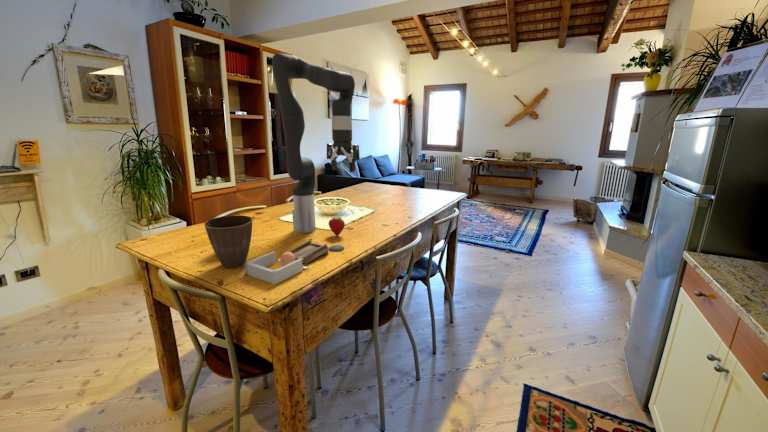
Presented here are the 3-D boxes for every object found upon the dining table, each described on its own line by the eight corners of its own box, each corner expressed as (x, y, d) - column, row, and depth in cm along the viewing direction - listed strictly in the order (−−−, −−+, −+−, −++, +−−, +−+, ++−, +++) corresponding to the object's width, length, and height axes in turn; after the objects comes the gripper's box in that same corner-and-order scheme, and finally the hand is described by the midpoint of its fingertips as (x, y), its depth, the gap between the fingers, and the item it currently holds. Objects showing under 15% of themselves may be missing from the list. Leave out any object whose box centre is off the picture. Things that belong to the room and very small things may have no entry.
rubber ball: (276, 265, 117) (278, 251, 116) (287, 263, 121) (288, 249, 121) (287, 268, 114) (288, 254, 114) (297, 266, 119) (299, 252, 118)
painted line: (277, 260, 123) (277, 259, 123) (279, 259, 124) (279, 258, 123) (305, 268, 116) (305, 268, 116) (307, 267, 117) (307, 267, 117)
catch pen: (245, 274, 112) (244, 262, 110) (273, 261, 121) (273, 251, 120) (275, 284, 105) (274, 272, 104) (302, 270, 115) (301, 259, 113)
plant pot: (261, 267, 117) (256, 223, 112) (213, 277, 109) (207, 230, 105) (251, 253, 129) (247, 213, 125) (208, 261, 121) (202, 219, 117)
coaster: (325, 249, 133) (325, 248, 133) (335, 245, 138) (335, 244, 138) (337, 252, 130) (337, 251, 130) (347, 247, 135) (346, 246, 135)
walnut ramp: (286, 259, 124) (285, 249, 123) (309, 249, 134) (308, 239, 133) (306, 265, 119) (305, 254, 118) (328, 254, 129) (328, 244, 128)
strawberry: (333, 232, 154) (332, 211, 151) (347, 234, 151) (347, 213, 148) (326, 236, 149) (325, 214, 146) (340, 238, 146) (340, 216, 143)
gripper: (321, 128, 128) (322, 170, 133) (351, 128, 121) (352, 173, 126) (333, 128, 135) (334, 168, 139) (363, 128, 128) (363, 171, 132)
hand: (343, 171), depth 132 cm, fingers open, 8 cm apart
